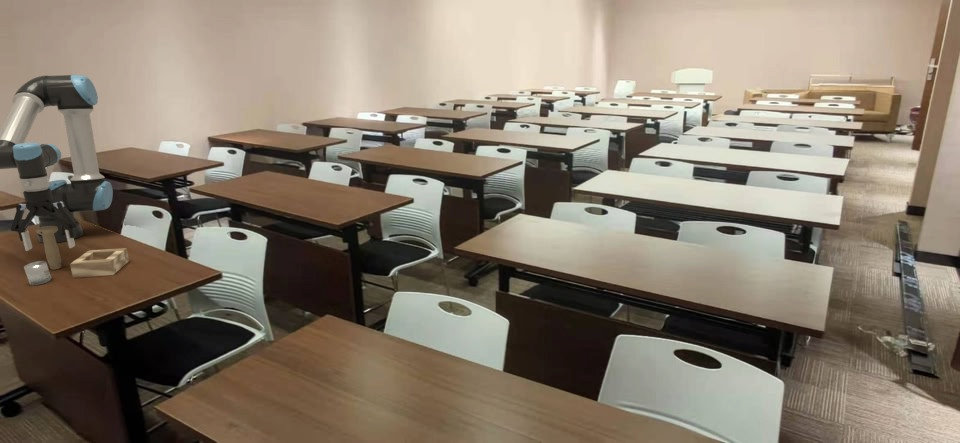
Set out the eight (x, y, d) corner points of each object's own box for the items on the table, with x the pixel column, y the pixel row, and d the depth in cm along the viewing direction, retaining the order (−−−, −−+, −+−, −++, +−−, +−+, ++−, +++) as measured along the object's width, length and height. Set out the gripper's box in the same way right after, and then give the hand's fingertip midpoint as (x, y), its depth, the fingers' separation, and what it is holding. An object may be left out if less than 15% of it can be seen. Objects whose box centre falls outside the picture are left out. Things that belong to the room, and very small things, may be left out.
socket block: (91, 263, 205) (88, 250, 204) (129, 261, 208) (126, 248, 206) (73, 277, 193) (69, 264, 191) (113, 275, 195) (110, 261, 193)
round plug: (31, 279, 191) (25, 263, 189) (52, 275, 194) (47, 259, 192) (28, 286, 186) (22, 270, 184) (50, 282, 189) (44, 265, 187)
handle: (59, 271, 199) (49, 230, 194) (42, 270, 199) (31, 230, 195) (69, 266, 203) (60, 226, 199) (52, 265, 204) (43, 226, 199)
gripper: (-12, 193, 187) (4, 254, 193) (71, 189, 191) (84, 249, 197) (2, 188, 194) (17, 247, 200) (82, 184, 198) (94, 242, 204)
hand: (50, 248), depth 199 cm, fingers open, 13 cm apart
